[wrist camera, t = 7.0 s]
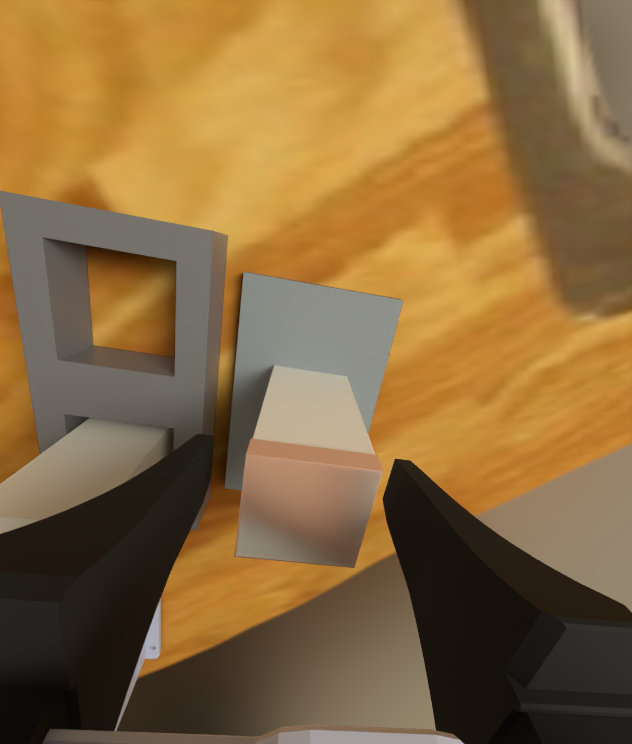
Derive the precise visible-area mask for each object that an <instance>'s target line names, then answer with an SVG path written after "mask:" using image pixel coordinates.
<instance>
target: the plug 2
mask: <svg viewBox="0 0 632 744" xmlns="http://www.w3.org/2000/svg"><path fill="white" fill-rule="evenodd" d="M382 474H383V469H382V466H381V463H380V460H379V458H378V455H375V453H374V450H373V447H372V445H371V442H370V439H369V436H368V433H367V431H366V428H365V425H364V422H363V419H362V417H361V414H360V411H359V408H358V406H357V403H356V400H355V397H354V394H353V392H352V389H351V386H350V383H349V380H348V378H347V376H341V375H335V374H328V373H321V372H315V371H308V370H302V369H295V368H289V367H282V366H276V365H274V368H273V371H272V374H271V378H270V381H269V385H268V388H267V391H266V395H265V398H264V402H263V405H262V409H261V412H260V415H259V419H258V422H257V426H256V429H255V432H254V436H253V439H251V440H250V443H249V446H248V449H247V453H246V460H245V468H244V477H243V486H242V495H241V503H240V512H239V521H238V530H237V539H236V547H235V556H234V557H243V558H254V559H264V560H275V561H285V562H296V563H307V564H317V565H328V566H338V567H349V568H354V567H355V564H356V560H357V557H358V554H359V550H360V547H361V544H362V540H363V537H364V534H365V530H366V527H367V524H368V521H369V517H370V514H371V511H372V507H373V504H374V501H375V497H376V494H377V491H378V487H379V484H380V481H381V478H382Z"/></svg>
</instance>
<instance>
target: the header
mask: <svg viewBox="0 0 632 744" xmlns="http://www.w3.org/2000/svg"><path fill="white" fill-rule="evenodd" d="M0 205H1V212H2V218H3V224H4V230H5V237H6V243H7V249H8V256H9V262H10V268H11V274H12V281H13V287H14V293H15V299H16V306H17V312H18V318H19V325H20V331H21V337H22V343H23V350H24V356H25V362H26V368H27V375H28V381H29V387H30V393H31V400H32V406H33V412H34V419H35V425H36V431H37V437H38V444H39V450H40V454H41V453H43V452H44V451H46V450H47V449H48V448H50V447H51V446H52V445H54V444H55V443H56V442H58V441H59V440H60V439H62V438H63V437H65V436H66V435H67V434H69V433H70V432H71V431H73V430H74V429H75V428H77V427H78V426H80V425H81V424H82V423H84V422H85V421H86V420H88V419H89V418H97V419H105V420H113V421H121V422H128V423H136V424H144V425H151V426H159V427H167V428H174V447H173V451H174V450H176V449H177V448H178V447H180V446H181V445H182V444H184V443H185V442H187V441H188V440H189V439H191V438H192V437H193V436H195V435H196V434H205V435H213V436H214V429H215V414H216V400H217V385H218V371H219V356H220V342H221V327H222V312H223V298H224V283H225V269H226V254H227V240H228V235H225V234H221V233H218V232H215V231H211V230H205V229H200V228H195V227H190V226H184V225H179V224H174V223H168V222H163V221H158V220H152V219H147V218H142V217H136V216H131V215H126V214H121V213H115V212H110V211H105V210H99V209H94V208H89V207H83V206H78V205H73V204H67V203H62V202H57V201H52V200H46V199H41V198H36V197H30V196H25V195H20V194H14V193H9V192H4V191H0ZM85 245H89V246H94V247H100V248H106V249H111V250H117V251H123V252H128V253H134V254H139V255H145V256H151V257H156V258H162V259H168V260H173V261H177V267H176V327H175V358H173V357H167V356H160V355H153V354H147V353H140V352H133V351H126V350H120V349H113V348H106V347H100V346H93V336H92V323H91V311H90V298H89V285H88V272H87V260H86V247H85ZM213 443H214V442H213ZM212 458H213V456H212ZM211 473H212V470H211ZM210 487H211V480H210V483H209V486H208V489H207V493H206V495H205V498H204V501H203V504H202V506H201V508H200V510H199V513H198V515H197V517H196V519H195V521H194V523H193V525H192V527H191V530H197V529H198V526H199V524H200V521H201V519H202V516H203V514H204V511H205V509H206V506H207V504H208V501H209V499H210Z"/></svg>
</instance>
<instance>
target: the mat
mask: <svg viewBox="0 0 632 744" xmlns="http://www.w3.org/2000/svg"><path fill="white" fill-rule="evenodd" d="M402 304H403V300H401V299H396V298H390V297H385V296H379V295H374V294H368V293H362V292H357V291H351V290H346V289H340V288H334V287H329V286H323V285H317V284H312V283H306V282H301V281H295V280H289V279H284V278H278V277H273V276H267V275H261V274H256V273H250V272H244V273H243V284H242V296H241V307H240V318H239V330H238V341H237V352H236V364H235V375H234V386H233V398H232V409H231V420H230V432H229V443H228V454H227V466H226V477H225V488H226V489H235V490H242V486H243V477H244V468H245V460H246V453H247V449H248V446H249V443H250V440H251V439H253V436H254V432H255V429H256V426H257V422H258V419H259V415H260V412H261V409H262V405H263V402H264V398H265V395H266V391H267V388H268V385H269V381H270V378H271V374H272V371H273V368H274V365H276V366H282V367H289V368H295V369H302V370H308V371H315V372H321V373H328V374H335V375H341V376H347V378H348V380H349V383H350V386H351V389H352V392H353V394H354V397H355V400H356V403H357V406H358V408H359V411H360V414H361V417H362V419H363V422H364V425H365V428H366V431H367V433H368V432H369V428H370V424H371V420H372V417H373V413H374V409H375V405H376V402H377V398H378V394H379V390H380V387H381V383H382V379H383V375H384V372H385V368H386V364H387V360H388V357H389V353H390V349H391V345H392V342H393V338H394V334H395V330H396V327H397V323H398V319H399V315H400V312H401V308H402Z"/></svg>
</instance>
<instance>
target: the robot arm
mask: <svg viewBox="0 0 632 744" xmlns="http://www.w3.org/2000/svg"><path fill="white" fill-rule="evenodd" d="M213 442H214V436H213V435H205V434H196V435H195V436H193V437H192V438H191V439H189V440H188V441H187V442H185V443H184V444H182V445H181V446H180V447H178V448H177V449H176V450H174V451H173V452H172V453H170V454H169V455H167V456H166V457H164V458H163V459H161V460H160V461H159V462H157V463H156V464H154V465H153V466H151V467H149V468H148V469H146V470H145V471H143V472H141V473H140V474H138V475H137V476H135V477H133V478H132V479H130V480H128V481H126V482H124V483H123V484H121V485H119V486H117V487H115V488H113V489H111V490H109V491H107V492H105V493H103V494H101V495H99V496H97V497H95V498H92V499H90V500H88V501H86V502H83V503H81V504H79V505H77V506H75V507H72V508H70V509H68V510H65V511H63V512H60V513H58V514H55V515H53V516H50V517H48V518H45V519H42V520H39V521H37V522H34V523H31V524H28V525H26V526H23V527H20V528H17V529H14V530H11V531H8V532H4V533H1V534H0V744H632V612H631V611H630V610H629V609H628V608H627V607H626V606H625V605H623V604H621V603H619V602H617V601H615V600H613V599H611V598H609V597H607V596H605V595H603V594H601V593H599V592H597V591H595V590H593V589H591V588H589V587H586V586H585V585H582V584H580V583H578V582H577V581H575V580H573V579H571V578H569V577H567V576H565V575H563V574H562V573H560V572H558V571H556V570H554V569H553V568H551V567H549V566H547V565H546V564H544V563H542V562H541V561H539V560H537V559H535V558H534V557H532V556H531V555H529V554H527V553H526V552H524V551H522V550H521V549H519V548H518V547H516V546H515V545H513V544H511V543H510V542H509V541H507V540H506V539H504V538H503V537H501V536H500V535H498V534H497V533H496V532H494V531H493V530H492V529H490V528H489V527H487V526H486V525H485V524H483V523H482V522H481V521H479V520H478V519H477V518H475V517H474V516H473V515H472V514H470V513H469V512H468V511H467V510H466V509H464V508H463V507H462V506H461V505H459V504H458V503H457V502H456V501H455V500H454V499H452V498H451V497H450V496H449V495H448V494H447V493H446V492H445V491H443V490H442V489H441V488H440V487H439V486H438V485H437V484H436V483H435V482H434V481H432V480H431V479H430V478H429V477H428V476H427V475H426V474H425V473H424V472H423V471H421V470H420V469H419V468H418V467H417V466H416V465H415V464H413V463H412V462H411V461H410V460H402V459H395V461H394V464H393V467H392V470H391V474H390V477H389V480H388V483H387V487H386V490H385V493H384V496H383V504H384V509H385V515H386V520H387V524H388V528H389V531H390V534H391V537H392V540H393V543H394V546H395V549H396V552H397V555H398V558H399V561H400V564H401V567H402V571H403V574H404V576H405V580H406V583H407V586H408V590H409V593H410V597H411V601H412V605H413V610H414V614H415V618H416V623H417V628H418V633H419V638H420V643H421V647H422V652H423V657H424V662H425V668H426V673H427V679H428V684H429V689H430V695H431V701H432V707H433V713H434V720H435V726H436V730H431V729H429V730H428V729H407V728H383V727H359V726H358V727H357V726H335V725H334V726H333V725H311V724H310V725H299V726H288V727H281V728H279V729H276V730H274V731H272V732H269V733H267V734H265V735H263V736H260V737H253V736H227V735H226V736H225V735H199V734H173V733H172V734H171V733H145V732H120V731H119V732H118V731H116V730H117V728H118V725H119V722H120V720H121V718H122V715H123V713H124V710H125V707H126V705H127V703H128V700H129V698H130V695H131V692H132V690H133V688H134V685H135V683H136V680H137V678H138V675H139V673H140V670H141V668H142V665H143V663H144V660H145V659H156V658H158V657H159V655H160V652H161V595H162V593H163V590H164V587H165V585H166V582H167V579H168V577H169V574H170V572H171V570H172V567H173V565H174V563H175V560H176V558H177V556H178V554H179V552H180V550H181V548H182V546H183V544H184V542H185V540H186V538H187V536H188V533H189V531H190V529H191V527H192V525H193V523H194V521H195V519H196V517H197V515H198V513H199V510H200V508H201V506H202V504H203V501H204V498H205V495H206V493H207V489H208V486H209V483H210V480H211V470H212V456H213Z"/></svg>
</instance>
